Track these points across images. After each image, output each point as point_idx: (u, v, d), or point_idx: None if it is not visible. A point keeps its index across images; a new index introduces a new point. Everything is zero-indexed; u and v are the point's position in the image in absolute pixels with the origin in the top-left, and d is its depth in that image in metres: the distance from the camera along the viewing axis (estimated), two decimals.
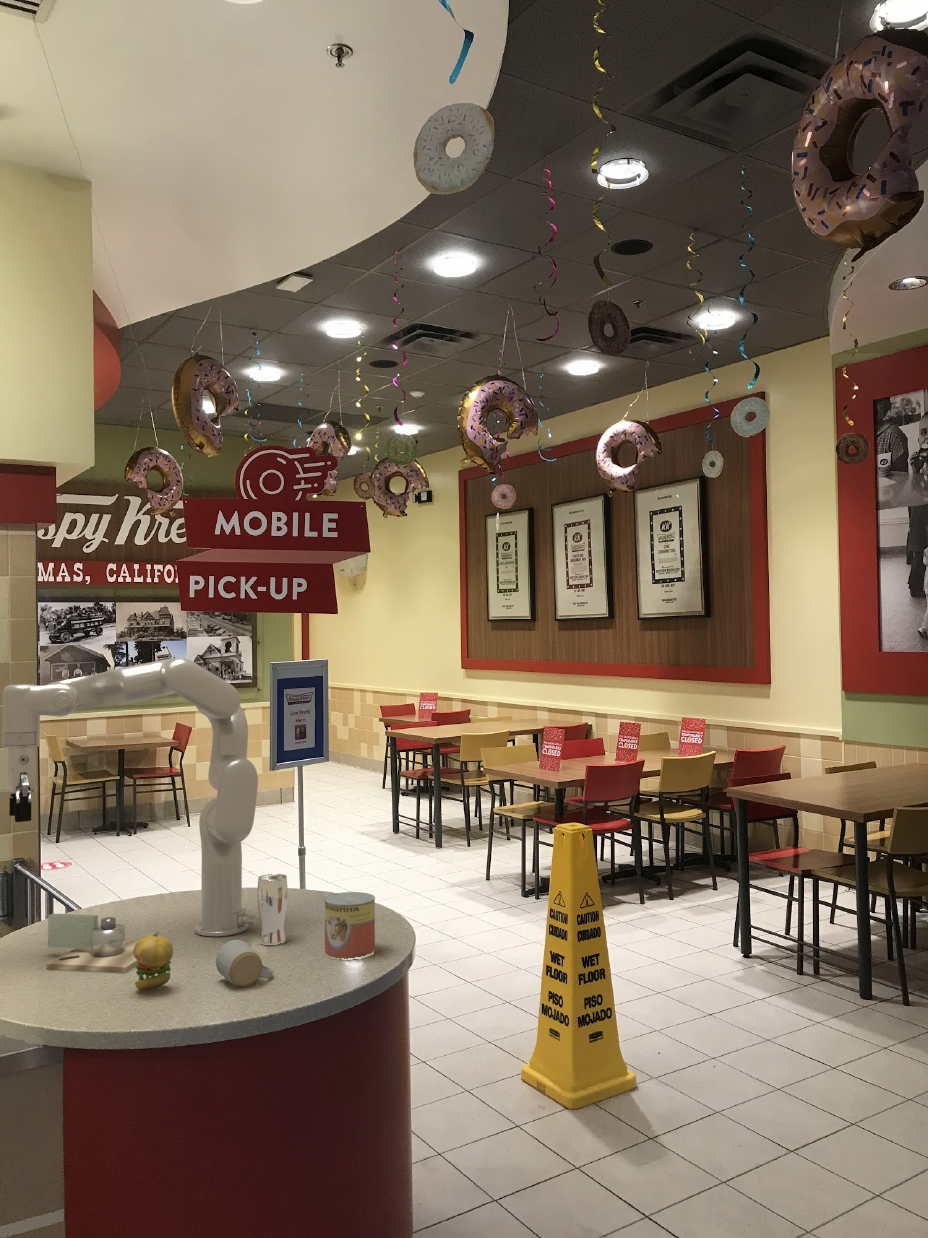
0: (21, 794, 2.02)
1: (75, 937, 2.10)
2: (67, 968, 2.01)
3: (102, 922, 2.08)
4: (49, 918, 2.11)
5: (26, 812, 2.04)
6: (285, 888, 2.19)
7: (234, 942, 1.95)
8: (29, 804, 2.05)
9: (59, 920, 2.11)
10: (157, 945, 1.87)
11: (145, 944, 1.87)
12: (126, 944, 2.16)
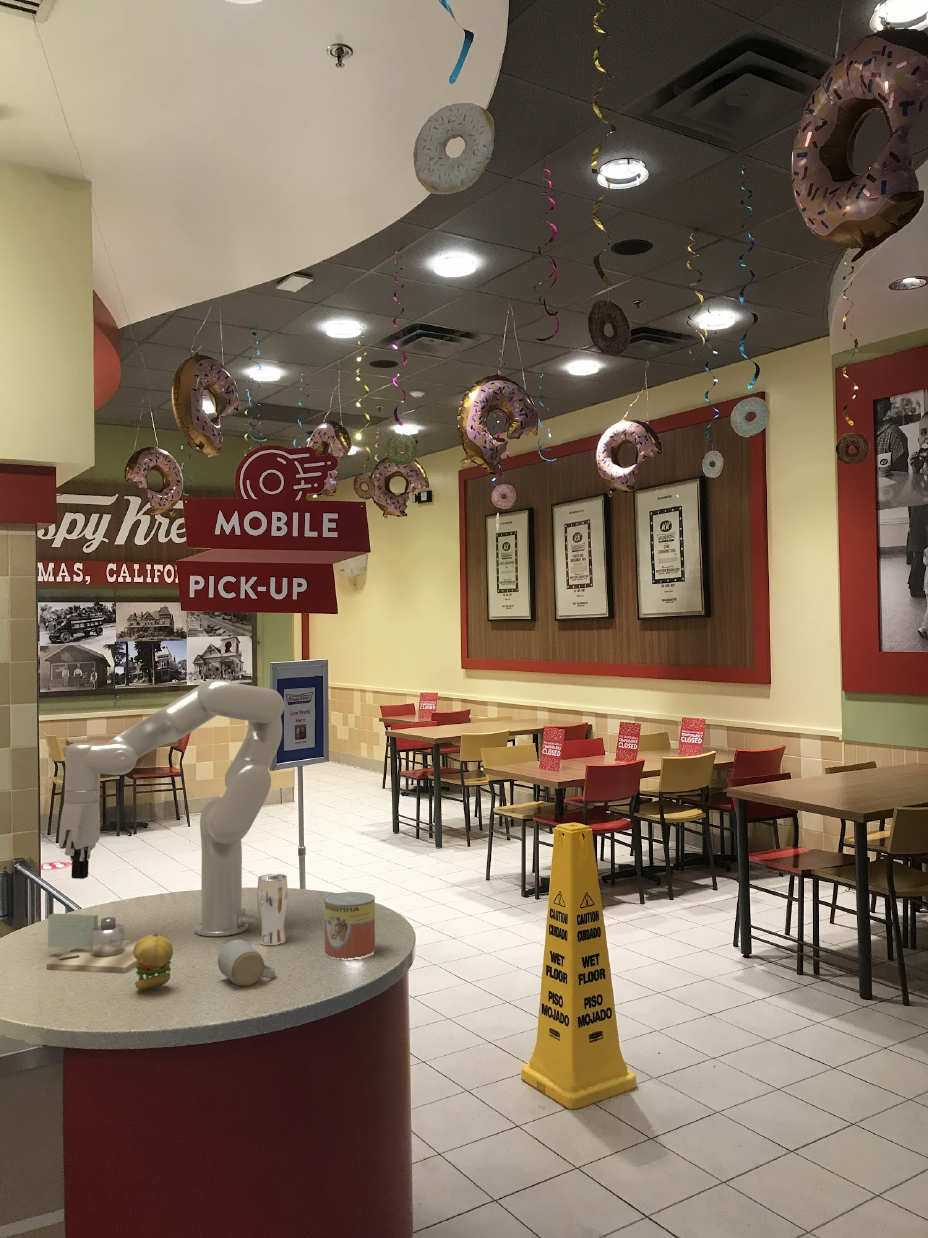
0: None
1: (75, 937, 2.10)
2: (67, 968, 2.01)
3: (102, 922, 2.08)
4: (49, 918, 2.11)
5: None
6: (285, 888, 2.19)
7: (236, 942, 1.95)
8: None
9: (59, 920, 2.11)
10: (157, 945, 1.87)
11: (145, 944, 1.87)
12: (126, 944, 2.16)
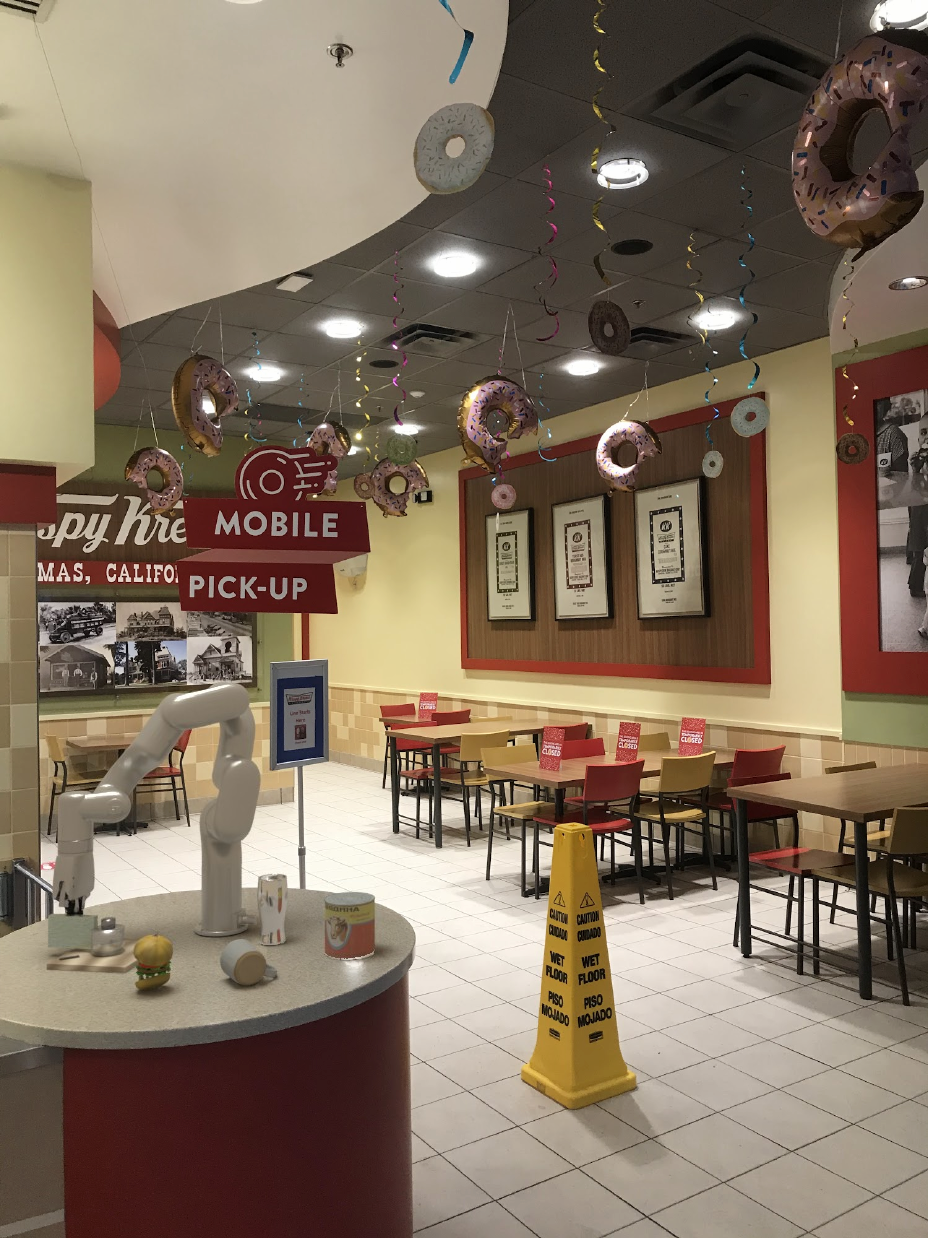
0: None
1: (75, 937, 2.10)
2: (67, 968, 2.01)
3: (102, 922, 2.08)
4: (49, 918, 2.11)
5: None
6: (285, 888, 2.19)
7: (238, 941, 1.95)
8: None
9: (59, 920, 2.11)
10: (157, 945, 1.87)
11: (145, 944, 1.87)
12: (126, 944, 2.16)
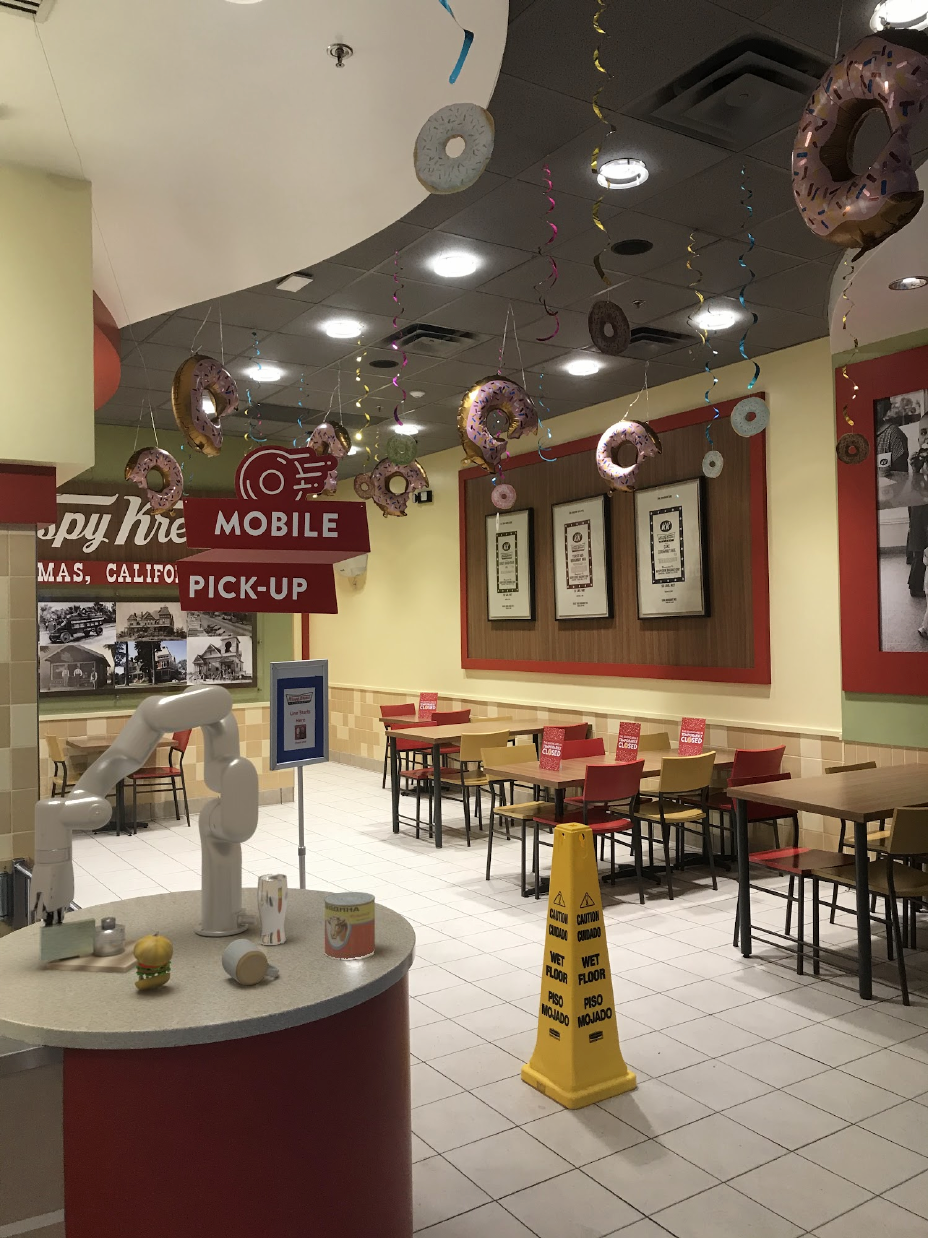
0: None
1: (74, 944, 2.05)
2: (67, 968, 2.01)
3: (106, 922, 2.08)
4: (42, 931, 2.01)
5: None
6: (285, 888, 2.19)
7: (240, 941, 1.95)
8: None
9: (55, 931, 2.02)
10: (157, 945, 1.87)
11: (145, 944, 1.87)
12: (126, 944, 2.16)
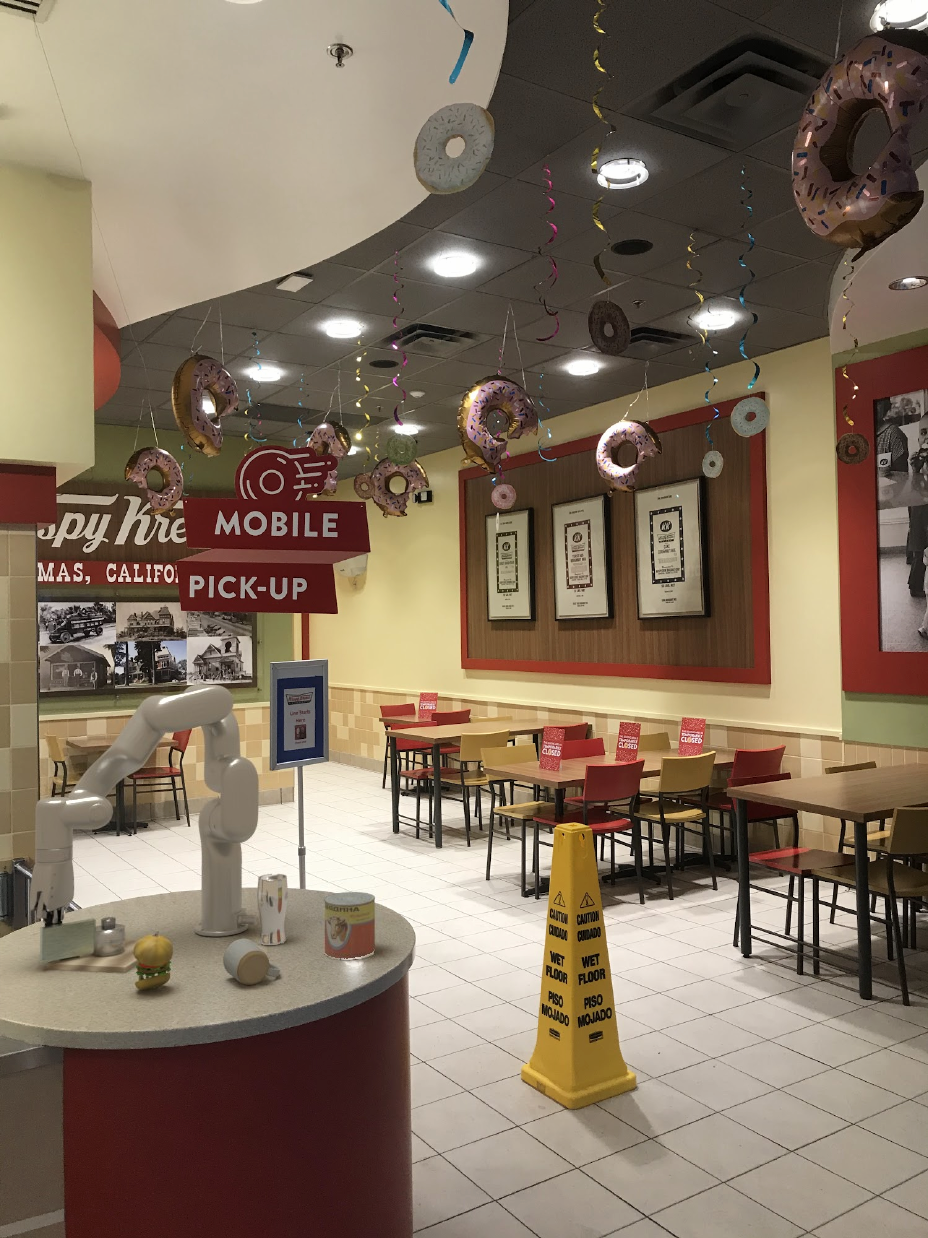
0: None
1: (74, 945, 2.04)
2: (67, 968, 2.01)
3: (107, 922, 2.08)
4: (43, 931, 2.01)
5: None
6: (285, 888, 2.19)
7: (241, 941, 1.95)
8: None
9: (55, 931, 2.02)
10: (157, 945, 1.87)
11: (145, 944, 1.87)
12: (126, 944, 2.16)
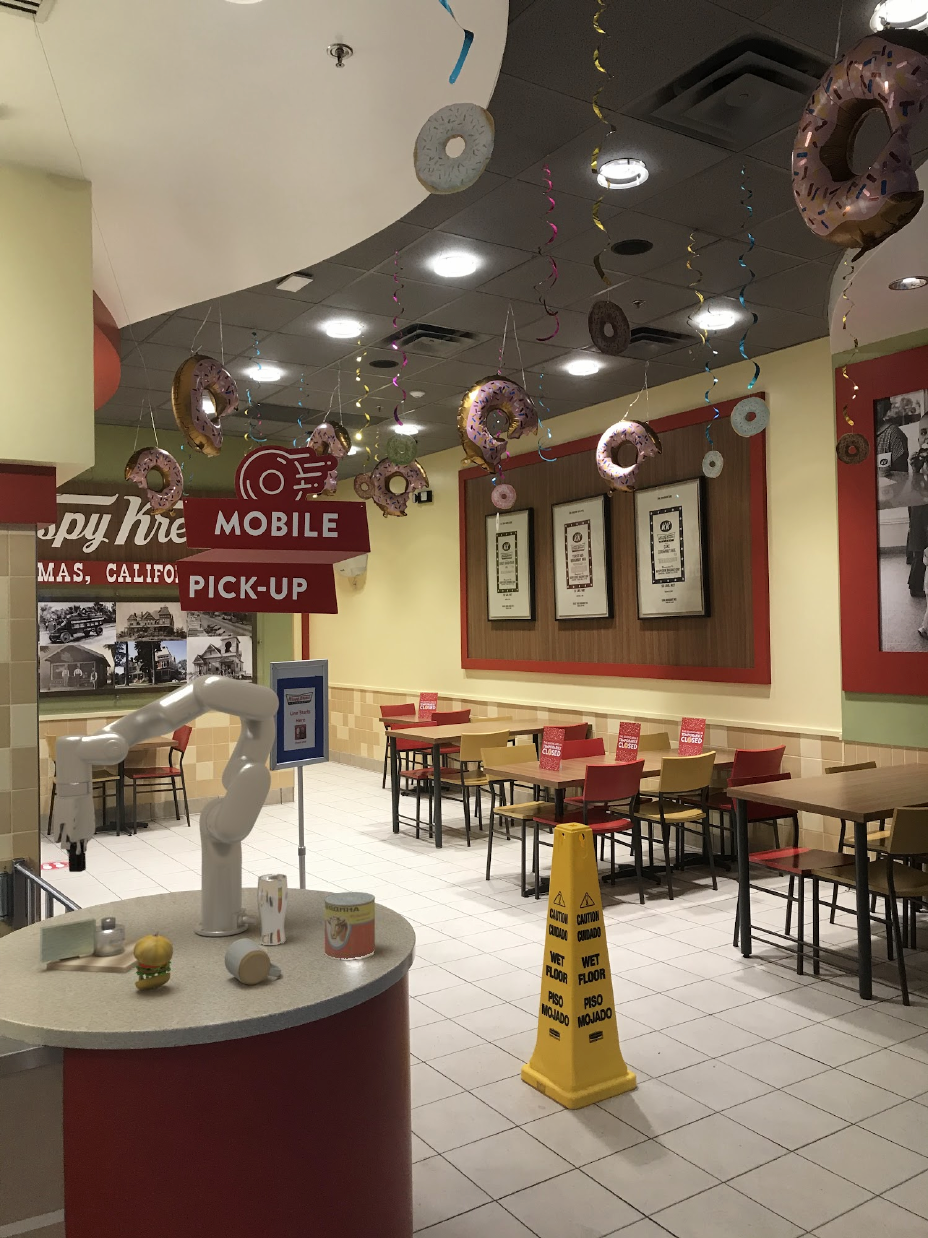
0: None
1: (74, 945, 2.04)
2: (67, 968, 2.01)
3: (107, 922, 2.08)
4: (43, 931, 2.01)
5: None
6: (285, 888, 2.19)
7: (243, 940, 1.96)
8: None
9: (55, 931, 2.02)
10: (157, 945, 1.87)
11: (145, 944, 1.87)
12: (126, 944, 2.16)
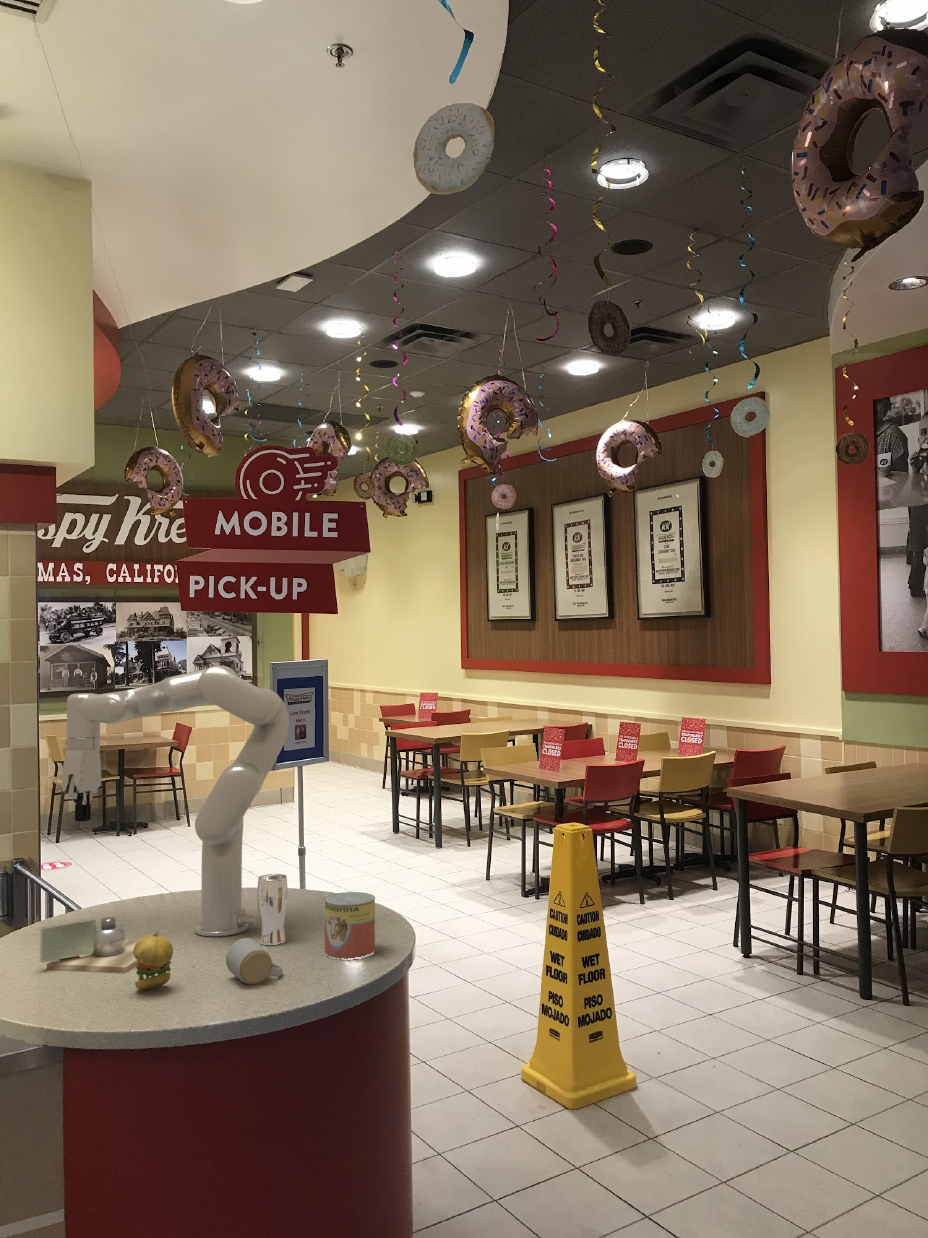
0: None
1: (74, 945, 2.04)
2: (67, 968, 2.01)
3: (107, 922, 2.08)
4: (43, 931, 2.01)
5: None
6: (285, 888, 2.19)
7: (244, 940, 1.96)
8: None
9: (55, 931, 2.02)
10: (157, 945, 1.87)
11: (145, 944, 1.87)
12: (126, 944, 2.16)
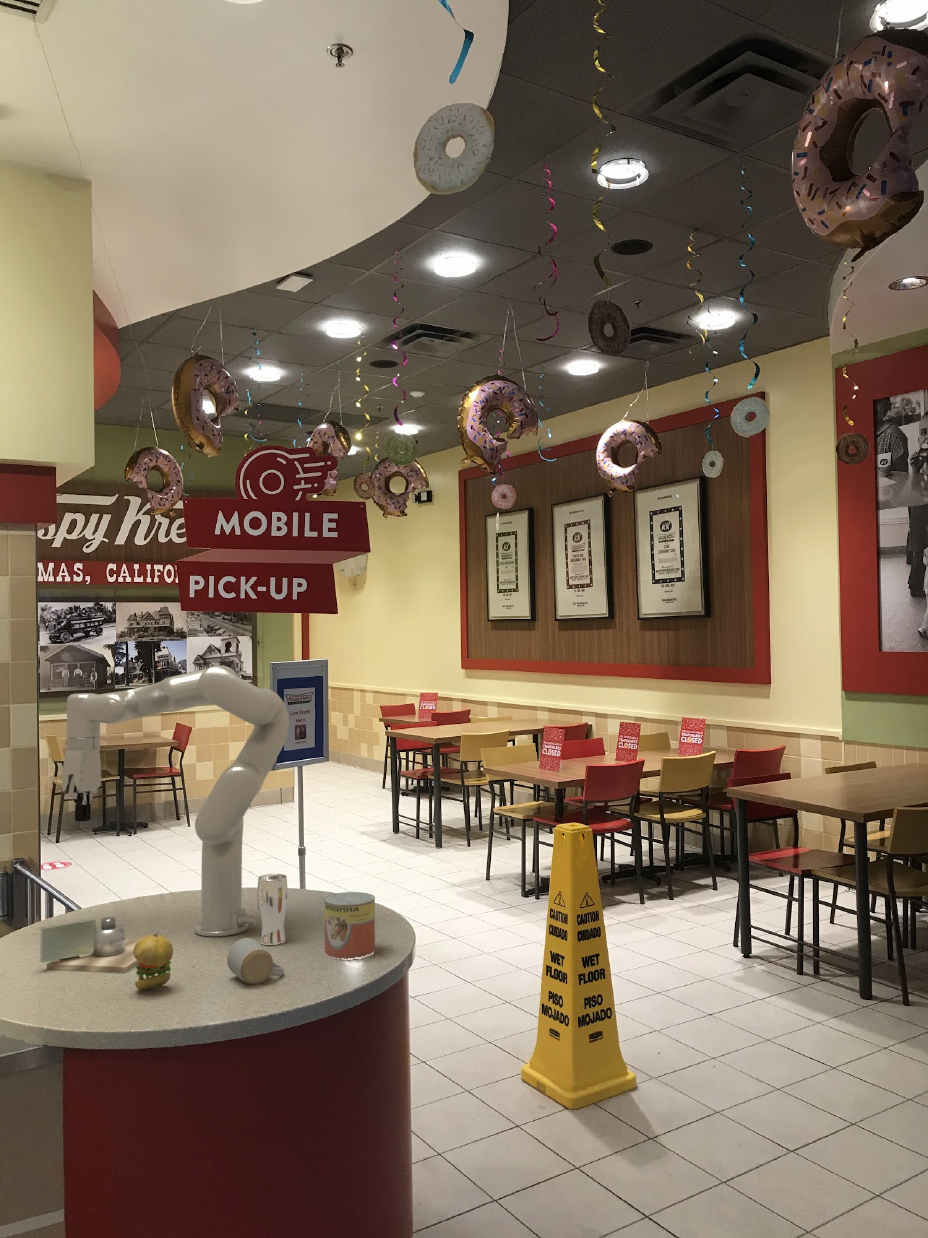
0: None
1: (74, 945, 2.04)
2: (67, 968, 2.01)
3: (107, 922, 2.08)
4: (43, 931, 2.01)
5: None
6: (285, 888, 2.19)
7: (245, 940, 1.96)
8: None
9: (55, 931, 2.02)
10: (157, 945, 1.87)
11: (145, 944, 1.87)
12: (126, 944, 2.16)
